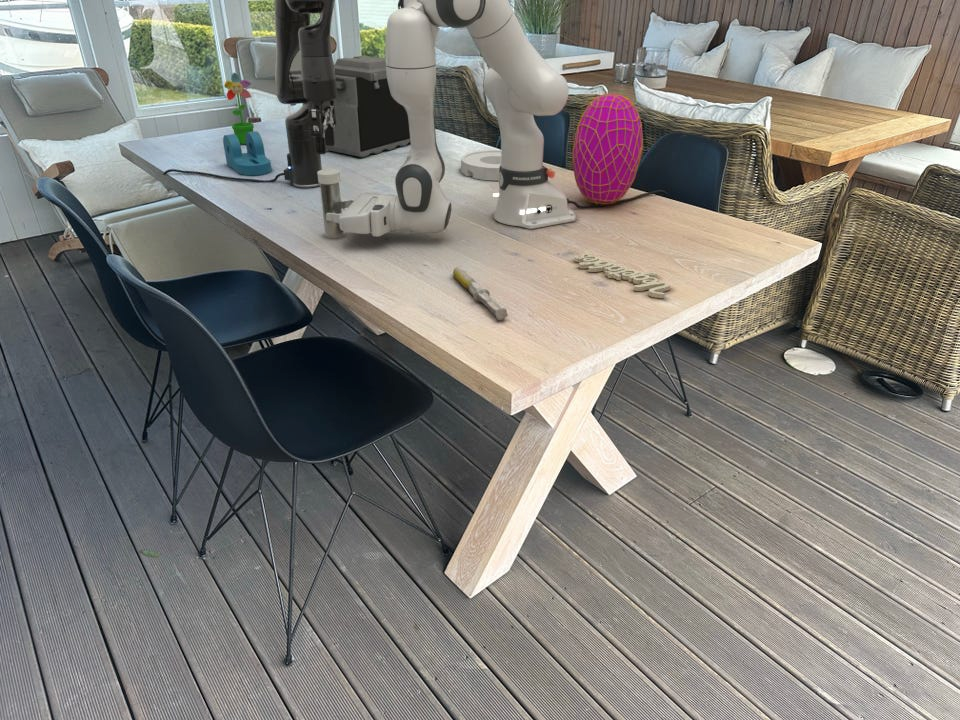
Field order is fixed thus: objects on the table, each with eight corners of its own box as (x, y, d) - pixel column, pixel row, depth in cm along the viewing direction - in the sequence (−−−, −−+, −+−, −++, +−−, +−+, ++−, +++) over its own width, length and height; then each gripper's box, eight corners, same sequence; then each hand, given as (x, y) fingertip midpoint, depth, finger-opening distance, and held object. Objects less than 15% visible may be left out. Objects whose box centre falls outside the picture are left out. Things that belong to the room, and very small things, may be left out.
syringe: (449, 274, 155) (449, 263, 153) (465, 272, 156) (464, 260, 154) (490, 323, 135) (491, 310, 133) (508, 319, 136) (508, 307, 134)
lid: (321, 178, 171) (320, 168, 170) (342, 178, 171) (341, 169, 170) (315, 184, 167) (314, 174, 165) (337, 184, 166) (336, 175, 165)
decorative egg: (611, 217, 189) (624, 103, 174) (555, 202, 201) (562, 94, 185) (647, 202, 202) (662, 94, 186) (592, 188, 213) (602, 86, 198)
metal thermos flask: (328, 232, 178) (321, 170, 170) (345, 232, 178) (340, 171, 170) (323, 238, 174) (316, 176, 166) (341, 239, 174) (335, 176, 166)
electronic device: (383, 133, 276) (378, 52, 261) (425, 141, 265) (422, 56, 250) (314, 150, 251) (304, 61, 235) (358, 160, 240) (350, 67, 224)
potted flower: (235, 145, 255) (223, 73, 243) (231, 141, 261) (219, 70, 249) (261, 143, 259) (250, 72, 247) (256, 139, 265) (246, 69, 252)
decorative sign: (686, 282, 150) (660, 295, 144) (686, 286, 150) (659, 300, 144) (592, 249, 166) (565, 259, 160) (592, 253, 167) (565, 263, 161)
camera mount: (227, 164, 233) (221, 132, 227) (257, 160, 238) (252, 129, 233) (244, 176, 220) (239, 143, 215) (276, 172, 225) (271, 139, 220)
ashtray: (462, 161, 240) (462, 149, 238) (529, 162, 239) (529, 150, 237) (459, 179, 220) (459, 167, 218) (531, 181, 220) (531, 168, 217)
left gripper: (311, 71, 163) (318, 142, 171) (293, 81, 151) (302, 156, 159) (342, 72, 162) (348, 143, 171) (326, 82, 150) (334, 157, 159)
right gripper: (395, 188, 178) (344, 185, 180) (375, 213, 161) (318, 210, 162) (396, 212, 181) (346, 209, 183) (376, 239, 164) (320, 235, 165)
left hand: (326, 149), depth 165 cm, fingers open, 8 cm apart
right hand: (332, 210), depth 172 cm, fingers open, 8 cm apart
